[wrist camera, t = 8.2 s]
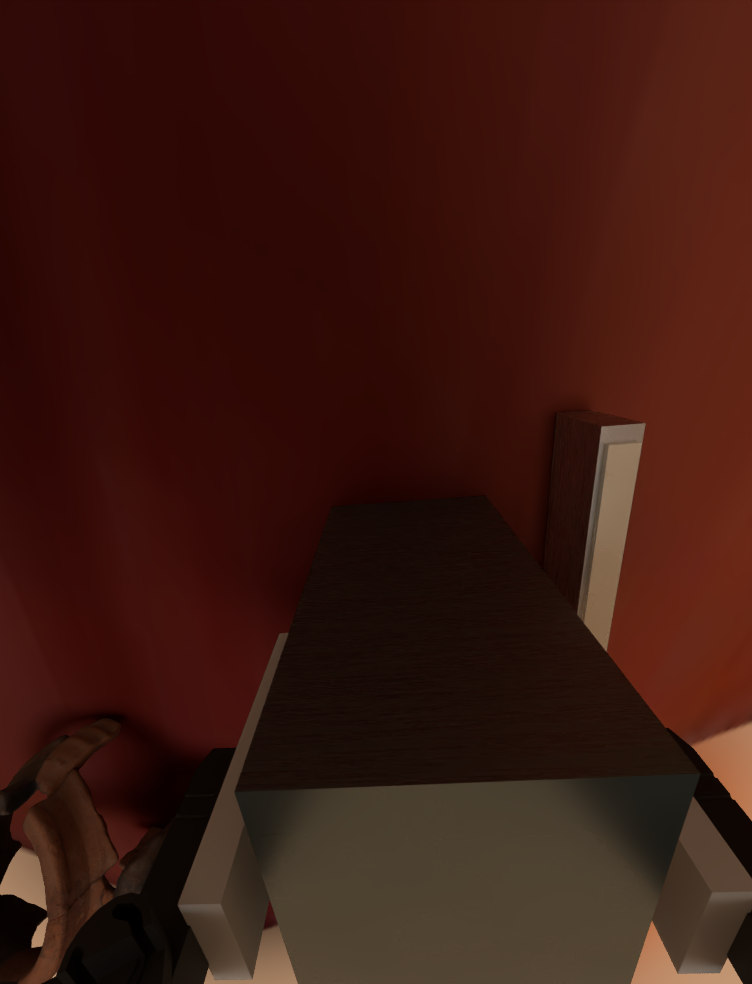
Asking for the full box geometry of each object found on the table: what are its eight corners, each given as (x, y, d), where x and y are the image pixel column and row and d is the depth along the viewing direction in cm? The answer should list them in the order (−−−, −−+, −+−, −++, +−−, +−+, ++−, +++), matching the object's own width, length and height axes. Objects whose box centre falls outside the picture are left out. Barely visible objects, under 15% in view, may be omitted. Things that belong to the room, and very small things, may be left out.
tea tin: (355, 679, 17) (324, 1060, 8) (331, 506, 14) (234, 792, 5) (484, 673, 17) (612, 1059, 8) (489, 494, 14) (713, 772, 5)
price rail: (556, 412, 13) (605, 427, 10) (591, 410, 13) (650, 424, 10) (529, 718, 18) (557, 785, 15) (554, 717, 18) (586, 784, 15)
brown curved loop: (122, 834, 23) (-75, 996, 15) (125, 677, 24) (-59, 752, 16) (286, 884, 19) (136, 1139, 11) (282, 694, 20) (140, 805, 12)
